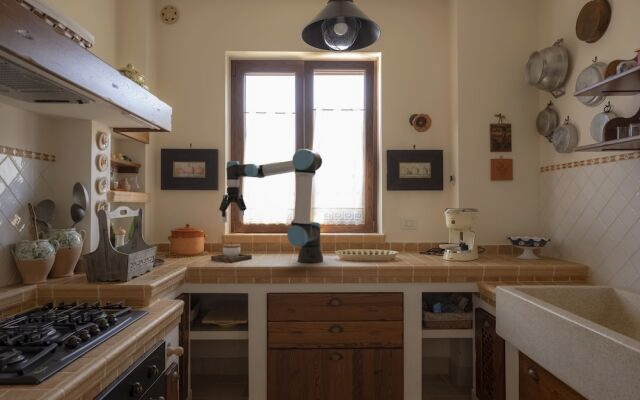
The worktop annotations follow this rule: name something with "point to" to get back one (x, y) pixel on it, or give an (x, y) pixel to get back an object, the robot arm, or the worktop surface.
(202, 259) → the worktop surface
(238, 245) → the lidded jar
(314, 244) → the robot arm
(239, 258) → the walnut tray
